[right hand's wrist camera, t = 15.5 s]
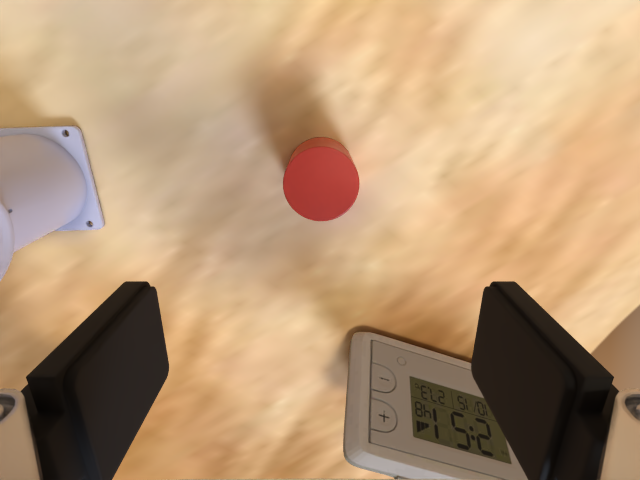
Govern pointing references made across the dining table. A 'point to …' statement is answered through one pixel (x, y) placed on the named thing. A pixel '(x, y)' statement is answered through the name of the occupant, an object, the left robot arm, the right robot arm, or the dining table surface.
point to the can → (321, 180)
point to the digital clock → (420, 415)
